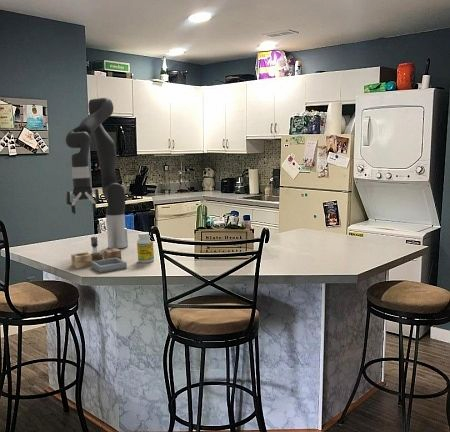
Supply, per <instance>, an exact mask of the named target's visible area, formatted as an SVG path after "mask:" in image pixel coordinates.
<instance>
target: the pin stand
mask: <svg viewBox="0 0 450 432" xmlns="http://www.w3.org/2000/svg"><path fill="white" fill-rule="evenodd" d="M90 254H91V255H92V261H98V260H104V255H103V254H102V253H101V252H97V255H93V252H92V253H90Z"/></svg>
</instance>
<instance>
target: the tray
mask: <svg viewBox="0 0 450 432" xmlns="http://www.w3.org/2000/svg"><path fill="white" fill-rule="evenodd" d="M127 264H128V263H127V261H125V260H123V259H121V260H120V259H118V258H110V259H104V258H103V260H98V261H92V262H91V266H90V267H91V269H94V270H95V271H97V272H99V273H100V274H102V273H108V272H112V271H113V272H114V271H120V270H125V269H127V268H128V267H127V266H128V265H127Z"/></svg>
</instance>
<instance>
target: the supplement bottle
mask: <svg viewBox="0 0 450 432" xmlns="http://www.w3.org/2000/svg"><path fill="white" fill-rule="evenodd" d="M150 235H151V234H150ZM150 235H149V232H148V231H143V232H139V233H138V239H137V241H136V247H137V248H136V249H137V260H138V262H139V263H151V262H153V261H154V260H155V254H154V253H155V252H154V240H153V241H151V240H150V238H151V236H150Z"/></svg>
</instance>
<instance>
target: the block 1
mask: <svg viewBox="0 0 450 432" xmlns="http://www.w3.org/2000/svg"><path fill="white" fill-rule="evenodd" d="M91 254H92V253H89V252H88V251H84V252H78V253H71V254H70V259H71V266H73V267H74V268H75V269H82V268H88V267H92V266H91V262H92V255H91Z"/></svg>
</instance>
